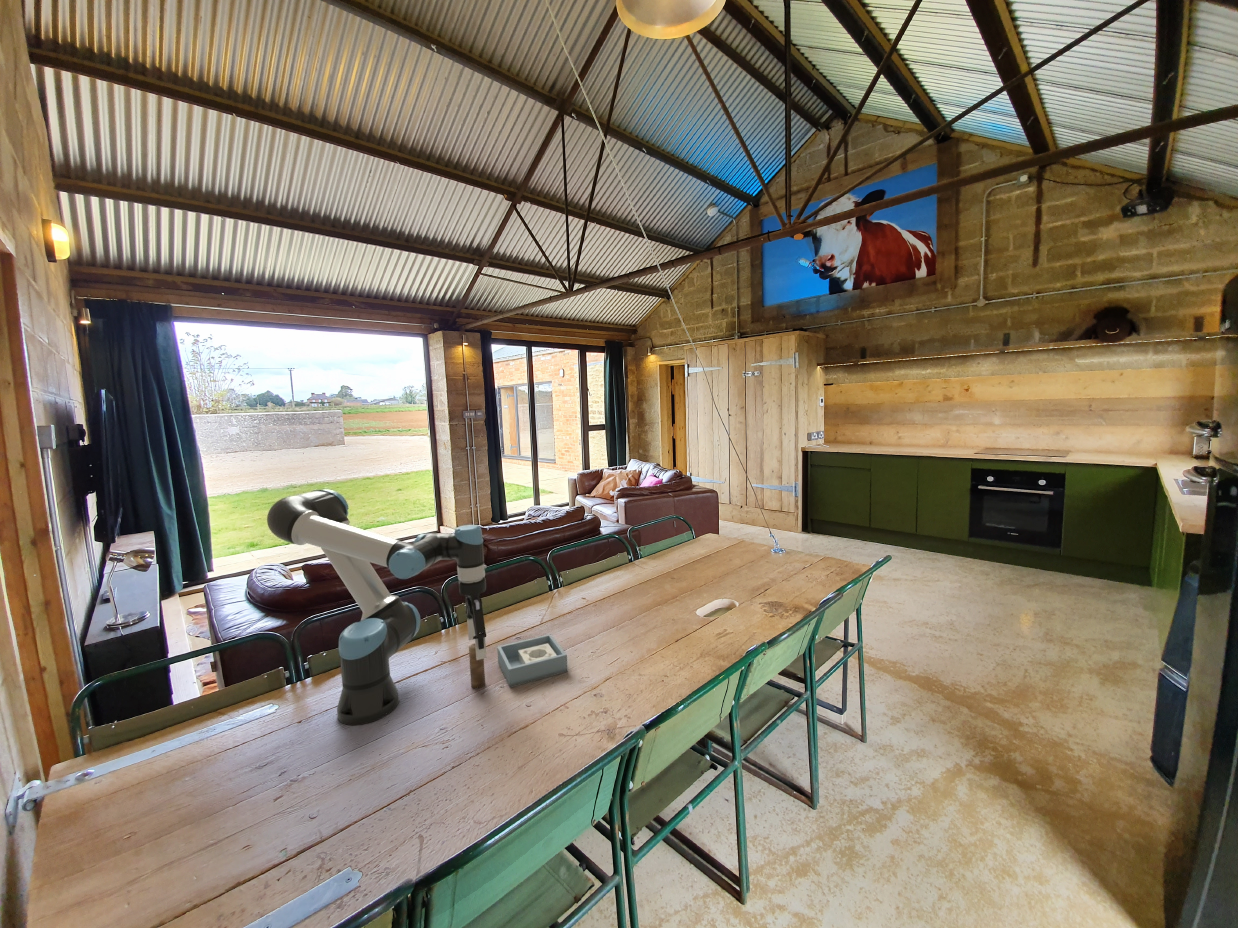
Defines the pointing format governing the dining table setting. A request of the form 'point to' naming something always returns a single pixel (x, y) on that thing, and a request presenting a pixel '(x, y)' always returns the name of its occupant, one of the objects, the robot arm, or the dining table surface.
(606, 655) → the dining table surface
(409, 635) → the robot arm
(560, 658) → the box
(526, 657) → the plate
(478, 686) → the peg
